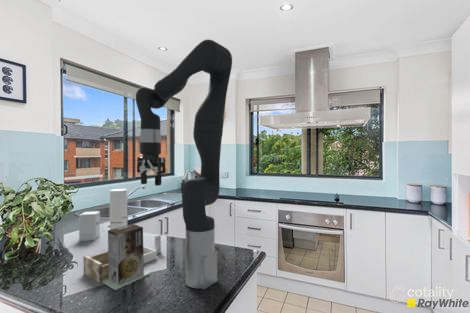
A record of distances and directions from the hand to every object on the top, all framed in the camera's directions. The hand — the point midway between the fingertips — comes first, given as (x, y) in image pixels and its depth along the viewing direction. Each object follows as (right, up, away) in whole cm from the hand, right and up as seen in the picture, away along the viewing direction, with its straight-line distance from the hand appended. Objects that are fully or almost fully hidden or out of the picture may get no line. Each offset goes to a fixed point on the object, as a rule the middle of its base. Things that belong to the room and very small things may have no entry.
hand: (150, 184), depth 94 cm
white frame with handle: (-5, -29, +4) cm, 30 cm away
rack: (-11, -30, -6) cm, 32 cm away
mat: (-4, -30, -12) cm, 32 cm away
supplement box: (-40, -30, +29) cm, 57 cm away
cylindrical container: (-21, -30, +20) cm, 42 cm away
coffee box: (-4, -29, -12) cm, 32 cm away
